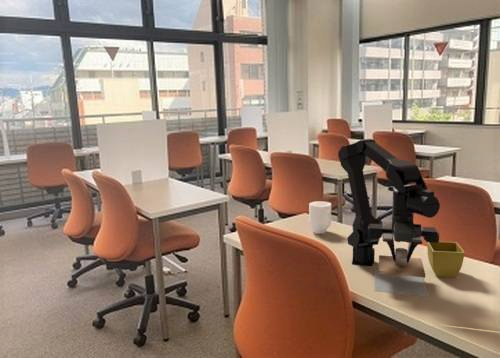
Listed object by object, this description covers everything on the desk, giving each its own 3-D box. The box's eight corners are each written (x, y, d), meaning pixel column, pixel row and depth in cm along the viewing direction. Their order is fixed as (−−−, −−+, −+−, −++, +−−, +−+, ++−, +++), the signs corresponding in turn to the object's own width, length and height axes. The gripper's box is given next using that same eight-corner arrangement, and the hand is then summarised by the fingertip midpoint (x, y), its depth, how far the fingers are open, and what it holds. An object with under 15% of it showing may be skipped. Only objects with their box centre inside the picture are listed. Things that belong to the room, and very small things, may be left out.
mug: (304, 230, 171) (305, 202, 169) (322, 228, 175) (323, 200, 173) (320, 238, 161) (321, 208, 158) (338, 235, 164) (340, 206, 162)
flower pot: (463, 281, 120) (465, 252, 119) (431, 279, 122) (433, 250, 121) (454, 269, 129) (456, 242, 127) (425, 267, 131) (426, 240, 129)
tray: (374, 291, 116) (374, 290, 116) (374, 271, 129) (374, 271, 129) (428, 297, 111) (428, 296, 111) (423, 276, 125) (423, 275, 125)
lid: (378, 273, 115) (379, 255, 114) (378, 257, 126) (379, 241, 125) (425, 277, 112) (426, 259, 111) (421, 261, 123) (422, 244, 122)
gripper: (367, 214, 111) (366, 269, 114) (443, 218, 105) (440, 275, 108) (368, 204, 121) (367, 254, 124) (437, 207, 116) (434, 260, 119)
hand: (400, 261), depth 119 cm, fingers closed on lid, 3 cm apart
